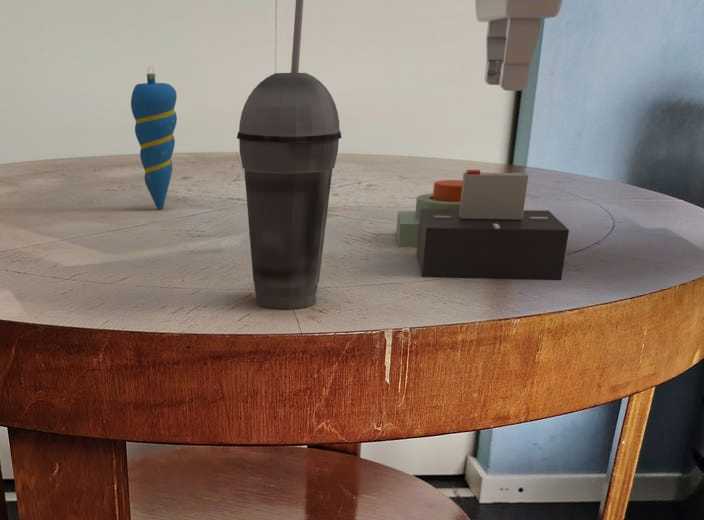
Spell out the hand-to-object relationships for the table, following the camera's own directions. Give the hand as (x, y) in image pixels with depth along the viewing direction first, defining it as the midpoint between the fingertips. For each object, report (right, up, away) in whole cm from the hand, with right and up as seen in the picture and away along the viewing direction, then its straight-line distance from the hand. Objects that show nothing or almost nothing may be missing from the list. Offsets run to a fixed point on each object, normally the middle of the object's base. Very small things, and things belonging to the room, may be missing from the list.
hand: (503, 87), depth 70 cm
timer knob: (0, -9, +5) cm, 10 cm away
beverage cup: (-17, -18, -3) cm, 25 cm away
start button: (0, -4, +15) cm, 15 cm away
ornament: (-30, +2, +35) cm, 46 cm away
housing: (0, -7, +16) cm, 18 cm away
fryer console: (0, -12, +6) cm, 14 cm away
